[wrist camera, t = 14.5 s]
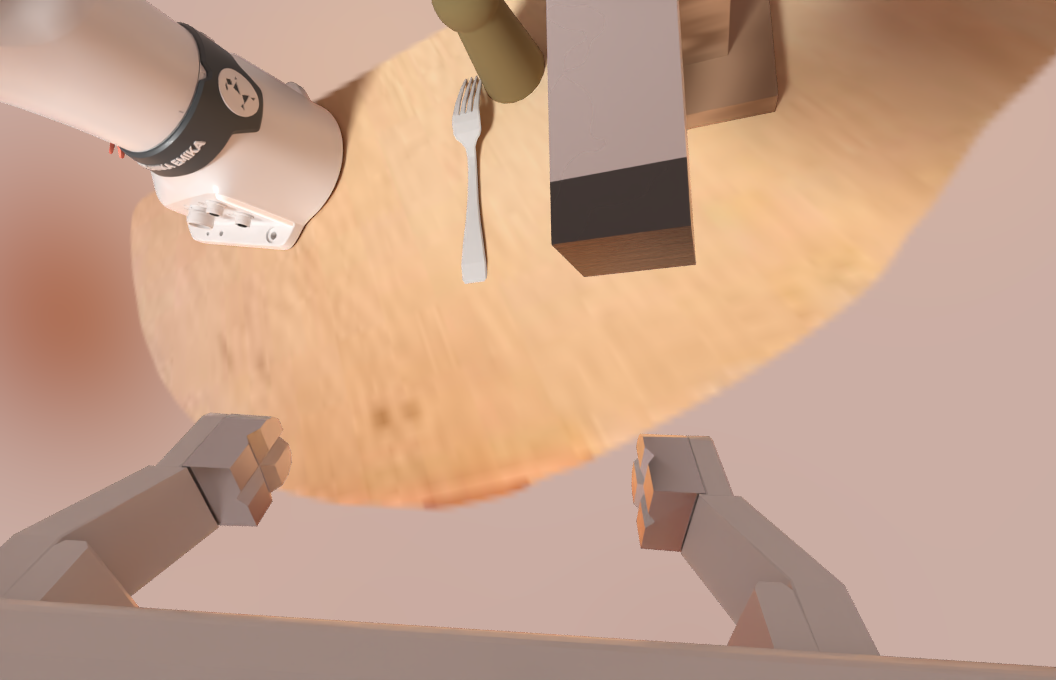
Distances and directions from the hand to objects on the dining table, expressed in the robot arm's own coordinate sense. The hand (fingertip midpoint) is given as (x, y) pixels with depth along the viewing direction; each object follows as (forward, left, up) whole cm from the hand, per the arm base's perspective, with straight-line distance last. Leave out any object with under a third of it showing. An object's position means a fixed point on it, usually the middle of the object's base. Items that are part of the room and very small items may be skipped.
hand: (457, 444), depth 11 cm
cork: (-10, +31, -28) cm, 43 cm away
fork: (-14, +22, -28) cm, 38 cm away
